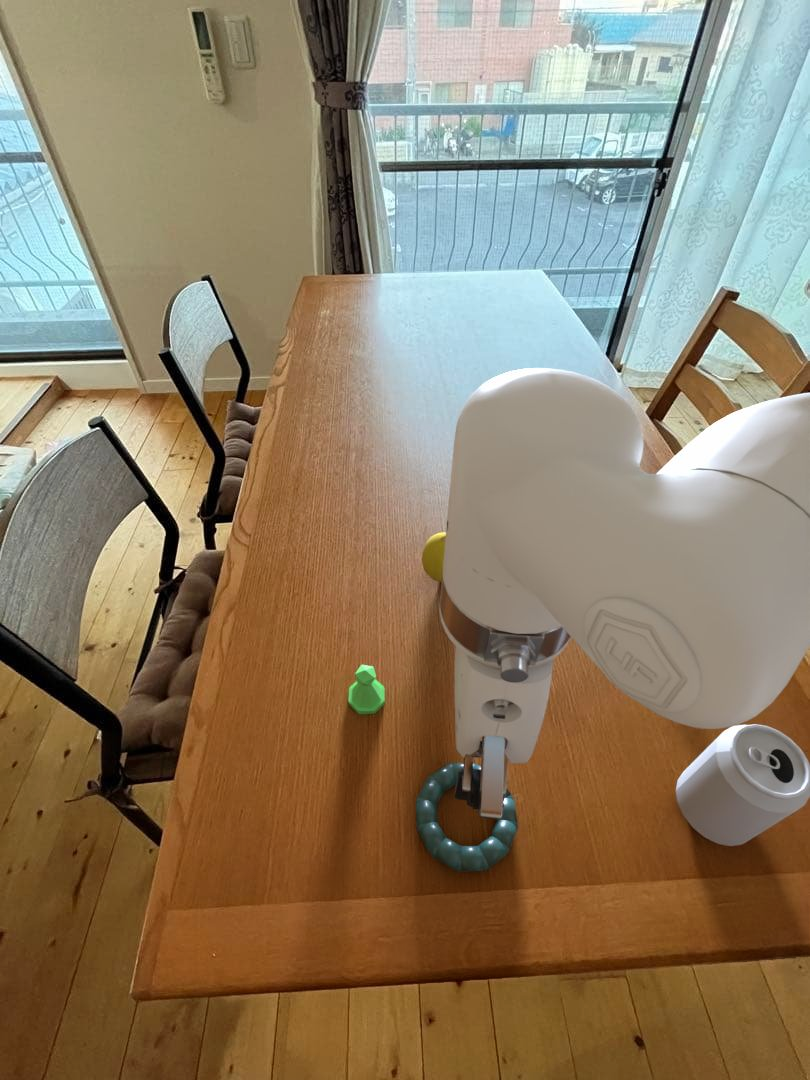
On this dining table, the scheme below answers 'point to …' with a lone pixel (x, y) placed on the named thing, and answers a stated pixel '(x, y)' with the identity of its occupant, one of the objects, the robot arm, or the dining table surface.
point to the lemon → (434, 556)
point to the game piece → (366, 691)
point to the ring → (449, 850)
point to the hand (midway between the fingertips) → (477, 731)
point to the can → (743, 784)
